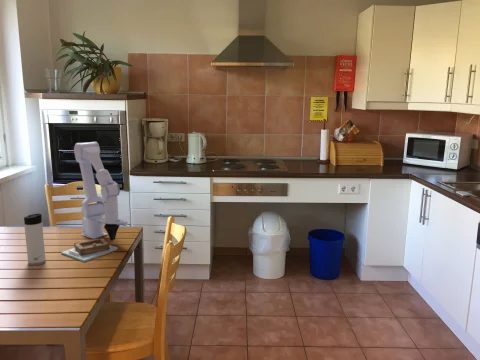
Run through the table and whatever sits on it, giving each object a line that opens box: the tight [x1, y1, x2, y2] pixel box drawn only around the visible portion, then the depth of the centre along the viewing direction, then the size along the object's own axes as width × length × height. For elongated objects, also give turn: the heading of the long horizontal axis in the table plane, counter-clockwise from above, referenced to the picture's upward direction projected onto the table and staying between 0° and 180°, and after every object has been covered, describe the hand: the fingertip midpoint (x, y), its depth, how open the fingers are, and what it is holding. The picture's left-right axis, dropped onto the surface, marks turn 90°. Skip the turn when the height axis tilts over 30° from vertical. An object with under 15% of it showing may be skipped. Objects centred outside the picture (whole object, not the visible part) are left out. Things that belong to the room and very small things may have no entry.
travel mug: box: [23, 213, 47, 267], centre depth 163 cm, size 6×7×20 cm
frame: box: [73, 237, 111, 255], centre depth 177 cm, size 9×12×3 cm
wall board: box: [61, 244, 119, 263], centre depth 177 cm, size 15×17×2 cm
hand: (112, 239), depth 186 cm, fingers closed
